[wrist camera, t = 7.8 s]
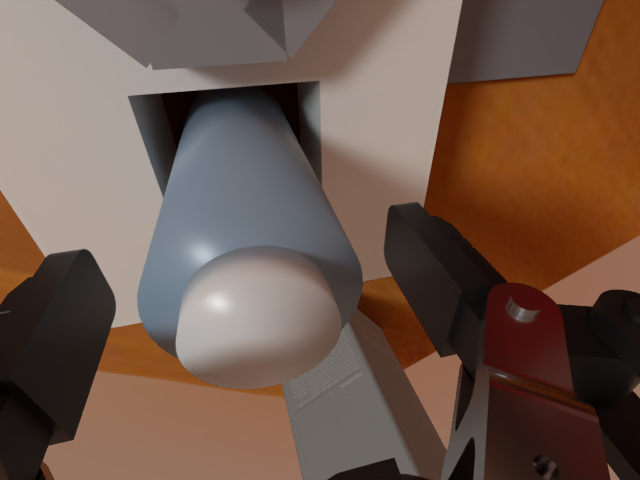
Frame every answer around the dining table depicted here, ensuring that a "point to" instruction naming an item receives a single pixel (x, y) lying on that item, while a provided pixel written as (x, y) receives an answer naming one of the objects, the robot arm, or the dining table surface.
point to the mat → (520, 38)
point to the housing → (202, 74)
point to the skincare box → (360, 410)
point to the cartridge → (246, 249)
